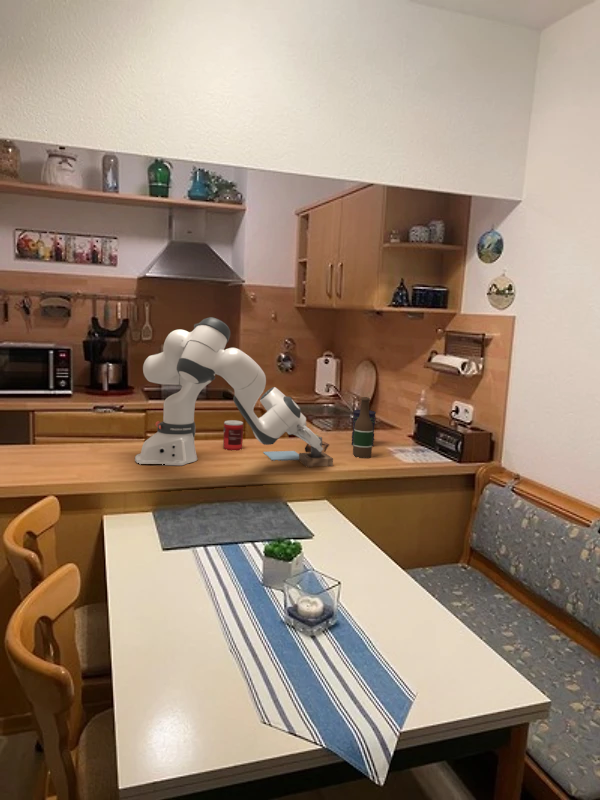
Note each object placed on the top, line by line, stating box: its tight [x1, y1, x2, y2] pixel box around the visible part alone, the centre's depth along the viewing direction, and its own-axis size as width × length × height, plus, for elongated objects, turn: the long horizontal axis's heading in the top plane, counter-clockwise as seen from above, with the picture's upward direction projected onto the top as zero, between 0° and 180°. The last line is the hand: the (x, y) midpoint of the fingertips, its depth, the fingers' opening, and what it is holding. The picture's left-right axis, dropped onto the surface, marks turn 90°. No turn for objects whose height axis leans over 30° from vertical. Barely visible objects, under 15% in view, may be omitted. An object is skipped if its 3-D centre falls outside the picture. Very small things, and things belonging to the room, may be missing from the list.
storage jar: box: [351, 409, 377, 447], centre depth 268 cm, size 10×10×15 cm
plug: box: [310, 433, 323, 458], centre depth 231 cm, size 4×4×11 cm
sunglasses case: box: [304, 440, 330, 453], centre depth 258 cm, size 18×7×7 cm
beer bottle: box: [352, 396, 373, 459], centre depth 245 cm, size 8×8×24 cm
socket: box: [298, 452, 334, 468], centre depth 231 cm, size 10×10×3 cm
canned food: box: [222, 419, 244, 451], centre depth 249 cm, size 8×8×11 cm
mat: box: [262, 450, 299, 462], centre depth 240 cm, size 13×13×1 cm
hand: (317, 448), depth 231 cm, fingers open, 6 cm apart
